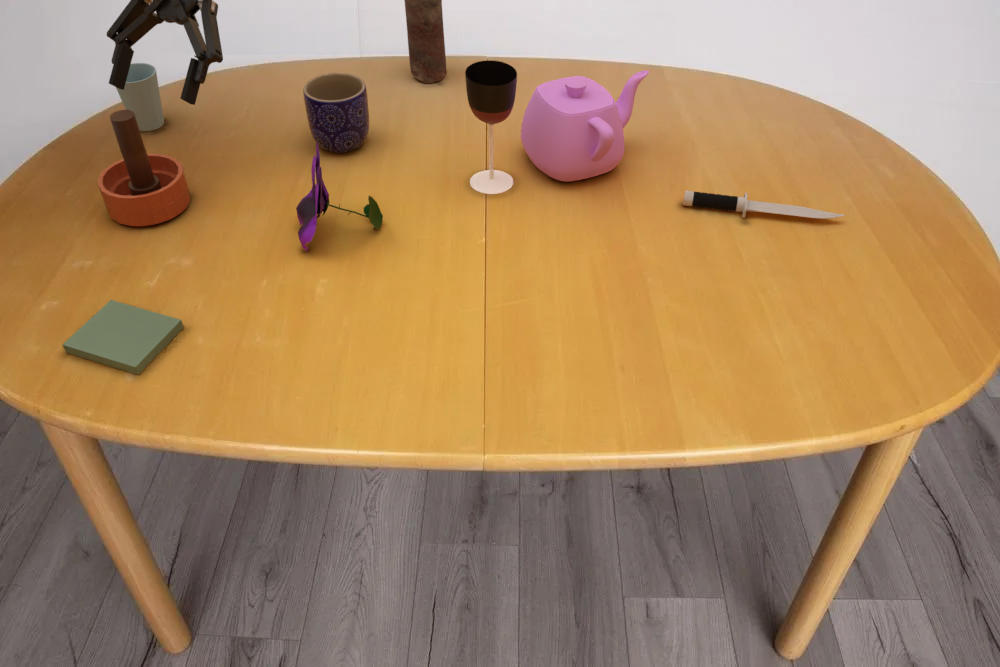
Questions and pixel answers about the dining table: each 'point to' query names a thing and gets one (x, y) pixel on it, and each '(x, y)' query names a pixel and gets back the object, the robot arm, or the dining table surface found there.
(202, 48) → the robot arm
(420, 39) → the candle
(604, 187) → the dining table surface
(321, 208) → the flower
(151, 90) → the cup
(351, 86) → the planter
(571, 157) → the teapot
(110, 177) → the bowl
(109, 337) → the board
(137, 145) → the pestle
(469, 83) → the wineglass
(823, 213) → the knife
